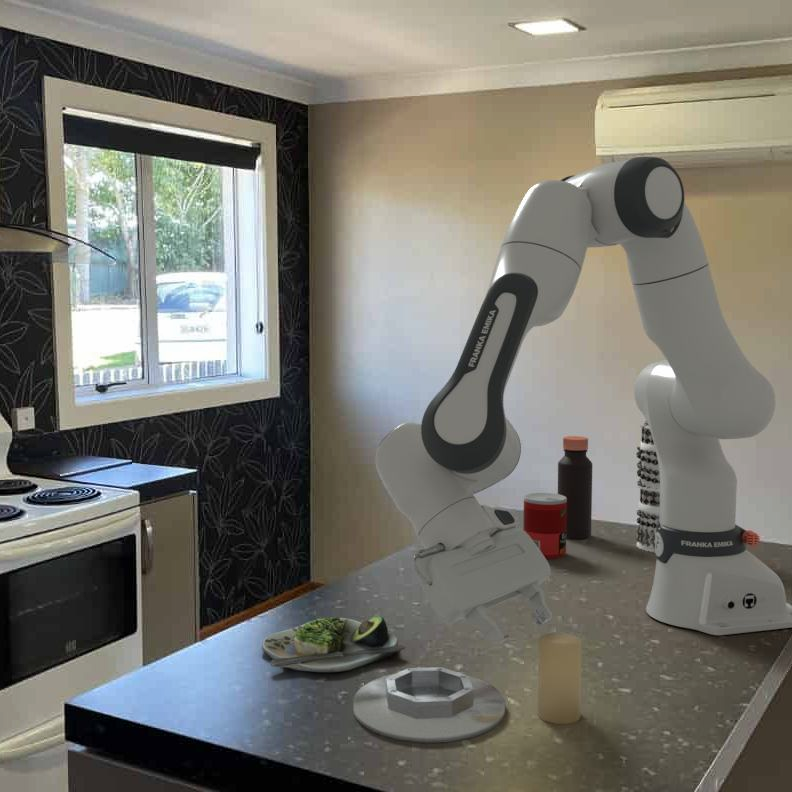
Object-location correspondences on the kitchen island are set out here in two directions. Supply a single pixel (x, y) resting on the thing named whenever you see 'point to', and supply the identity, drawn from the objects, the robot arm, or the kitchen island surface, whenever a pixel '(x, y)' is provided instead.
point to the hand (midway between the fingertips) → (525, 631)
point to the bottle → (576, 486)
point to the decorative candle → (647, 491)
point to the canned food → (546, 522)
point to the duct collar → (429, 705)
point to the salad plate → (332, 644)
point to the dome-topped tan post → (559, 678)
